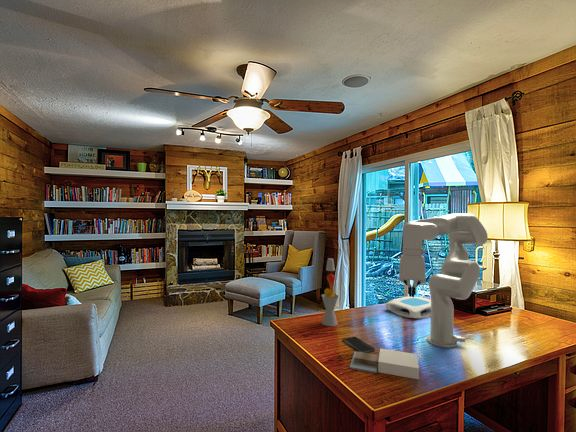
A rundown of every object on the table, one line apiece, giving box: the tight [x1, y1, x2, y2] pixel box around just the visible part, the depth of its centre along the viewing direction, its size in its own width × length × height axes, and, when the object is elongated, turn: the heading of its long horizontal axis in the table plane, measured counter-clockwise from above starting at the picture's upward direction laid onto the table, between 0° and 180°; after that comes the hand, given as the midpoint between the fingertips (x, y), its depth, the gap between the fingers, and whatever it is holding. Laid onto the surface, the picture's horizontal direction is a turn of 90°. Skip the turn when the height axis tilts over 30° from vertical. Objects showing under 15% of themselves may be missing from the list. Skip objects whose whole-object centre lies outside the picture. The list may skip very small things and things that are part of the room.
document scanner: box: [385, 295, 431, 319], centre depth 188 cm, size 21×28×6 cm
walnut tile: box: [354, 351, 379, 368], centre depth 122 cm, size 9×6×2 cm, turn 69°
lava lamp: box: [321, 257, 339, 327], centre depth 165 cm, size 9×9×35 cm
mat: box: [349, 351, 378, 374], centre depth 122 cm, size 10×14×1 cm
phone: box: [342, 336, 375, 353], centre depth 138 cm, size 8×1×15 cm
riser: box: [377, 348, 420, 380], centre depth 118 cm, size 14×12×4 cm
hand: (411, 296), depth 128 cm, fingers closed
